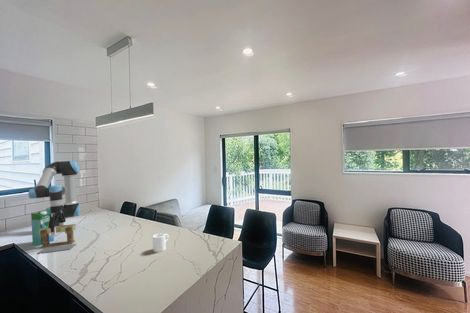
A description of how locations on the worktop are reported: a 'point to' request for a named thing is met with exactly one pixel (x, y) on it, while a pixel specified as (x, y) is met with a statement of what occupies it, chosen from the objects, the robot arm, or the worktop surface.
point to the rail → (58, 228)
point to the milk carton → (40, 225)
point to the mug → (159, 242)
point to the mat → (57, 248)
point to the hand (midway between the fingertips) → (57, 233)
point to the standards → (47, 243)
